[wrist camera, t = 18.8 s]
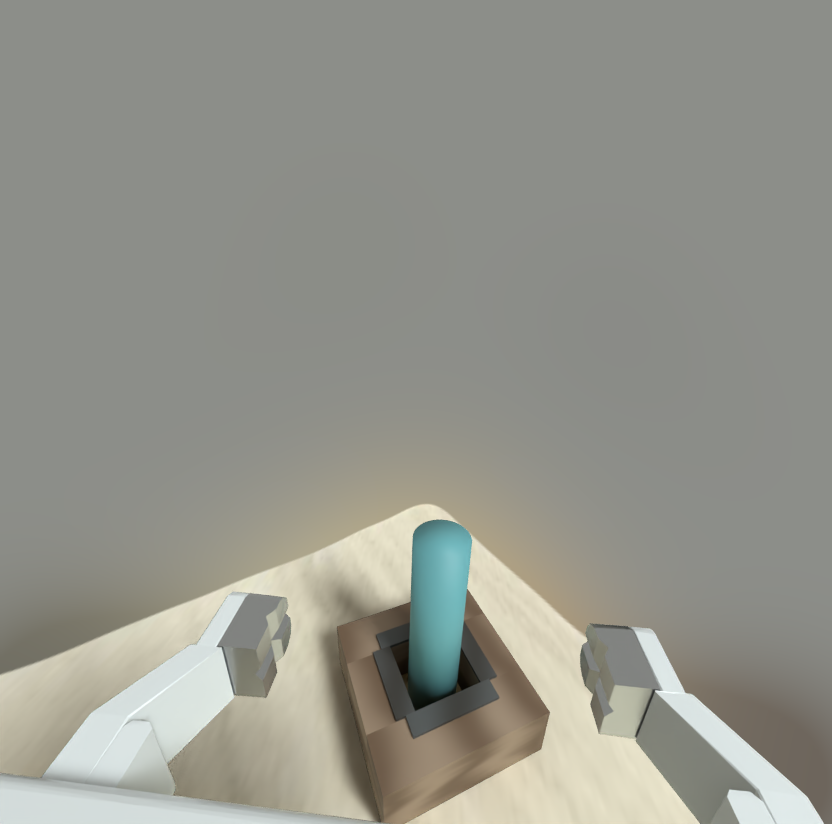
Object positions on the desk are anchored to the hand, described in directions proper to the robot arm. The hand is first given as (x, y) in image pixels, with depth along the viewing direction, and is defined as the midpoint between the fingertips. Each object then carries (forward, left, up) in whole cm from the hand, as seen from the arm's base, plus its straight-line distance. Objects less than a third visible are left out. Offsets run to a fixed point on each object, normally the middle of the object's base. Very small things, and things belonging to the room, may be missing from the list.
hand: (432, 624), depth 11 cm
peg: (+7, +14, -29) cm, 33 cm away
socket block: (+8, +14, -30) cm, 34 cm away
